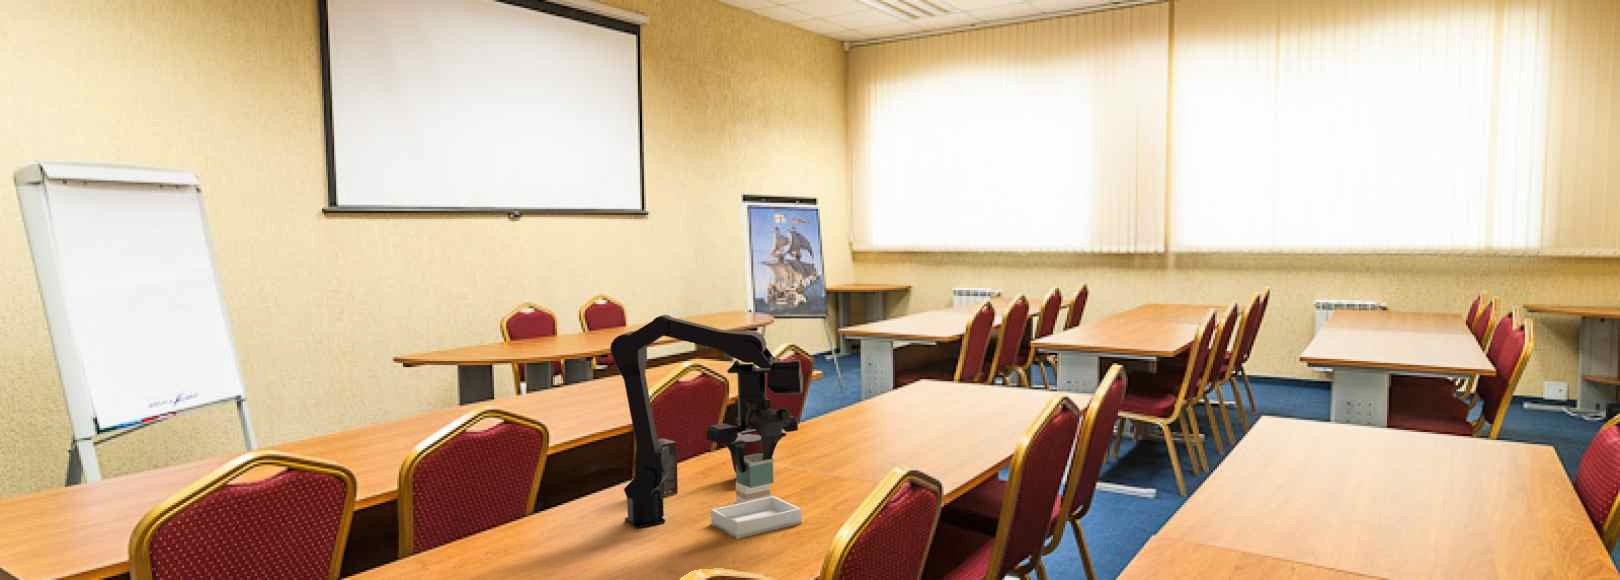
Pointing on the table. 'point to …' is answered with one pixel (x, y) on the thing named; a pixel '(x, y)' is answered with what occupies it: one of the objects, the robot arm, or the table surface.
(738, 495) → the carton
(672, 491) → the box
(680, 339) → the robot arm
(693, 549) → the table surface
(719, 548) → the table surface
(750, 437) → the mug
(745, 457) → the tin
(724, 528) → the tote
